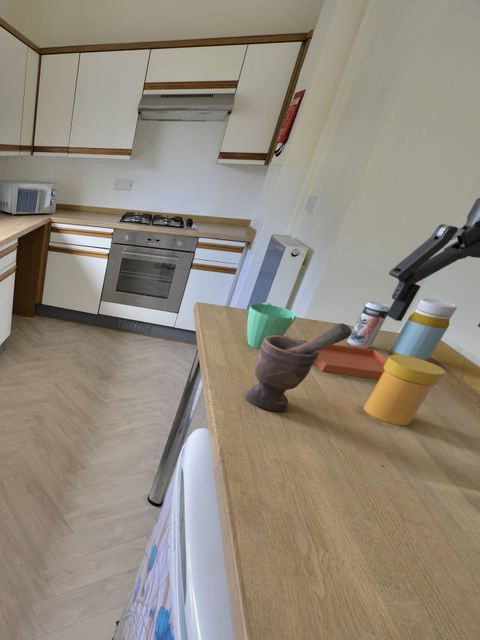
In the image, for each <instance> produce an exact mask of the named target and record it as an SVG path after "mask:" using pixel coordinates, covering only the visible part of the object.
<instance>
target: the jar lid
mask: <svg viewBox="0 0 480 640" xmlns="http://www.w3.org/2000/svg"><path fill="white" fill-rule="evenodd" d="M384 370H386V371H387V372H388V373H390V374H392V375H394V376H396V377H398V378H401V379H404V380H407V381H410V382H414V383H418V384H424V385H434V386H437V385H438V384H440V381H441V380H442V378H443V377H444V375H445V373H446V371H445V369H444V368H442V367H441V366H440V365H437V364H435V363H433V362H430V361H425V360H421V359H418V358H414V357H410V356H404V355H392V354H391V355H389V356H388V360H387V361H386V363H385V365H384Z"/></svg>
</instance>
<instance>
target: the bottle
mask: <svg viewBox="0 0 480 640" xmlns="http://www.w3.org/2000/svg"><path fill="white" fill-rule="evenodd" d="M457 309H458V306H457V305H456V304H454V303H451V302H447V301H444V300H439V299H433V298H421V299H420V301H419V303H418V305H417V306H416V308H415V310H414V311H413V312H412V313H411V314H410V315H409V316H408V318H407V319H406V321H405V323H404V325H403V326H402V329H401V330H400V332H399V334H398V335H397V337H396V339H395V341H394V343H393V344H392V346H391V348H390V353H391V355H404V356H410V357H414V358H418V359H421V360H425V361H427V362H429V359H430V358H431V356H432V355H433V353H434V351H435V350H436V348H437V346H438V345H439V343H440V342H441V340H442V338H443V337H444V335H445V333H446V332H447V330H448V328H449V327H450V320H451V318H452V316H453V315H454V314H455V312H456V310H457Z"/></svg>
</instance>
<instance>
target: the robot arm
mask: <svg viewBox="0 0 480 640" xmlns="http://www.w3.org/2000/svg"><path fill="white" fill-rule="evenodd" d="M455 239H456V240H457V241H455V242H453V243H452V244H450V245H448V244H449V243H450V242H451V241H452V240H455ZM442 249H443V250H442ZM440 250H442V251H441V252H440ZM468 257H471V258H476V259H480V197H479V198H476V200H475V201H474V203H473V205H472V207H471V208H470V210H469V212H468V214H467V216H466V223H465V224H464V225H463V226H462V227H460V228H459V227H457V226H454V225H450V224H443V223H442V224H439V225H437V227H436V228H435V230H434V231H433V233H432V234H431V236H430V237H429V238H428V239H426V240H425V241H424V242H423V243H422V244H420V246H418V247H417V248H415V249H414V250H413V251H412V252H411V253H410V254H409V255H408V256H406V257H405V258H403V260H401V261H399V263H398V264H396V265H395V266H394V267H393V268H392V269H391V270H389V272H388V275H389V276H391V277H393V278H395V279H397V280H398V283H397V285H396V287H395V289H394V291H393V293H392V294H391V299H392V300H393V302H392V303H391V306H390V307H389V308H390V310H389V311H388V313H387V317H389V318H391V319H393V320H395V321H396V322H402V320H403V319H404V317H405V315H406V314H407V312H408V310H409V308H410V307H411V304H412V303H413V301H414V299H415V297H416V295H417V294H418V292H419V290H420V288H421V285H419V284H417V283H419V282H421V281H423V280H424V279H426V278H428V277H430V276H432V275H434V274H435V273H437V272H439V271H441V270H443V269H444V268H446V267H448V266H450V265H451V264H453V263H455V262H457V261H459V260H463V259H467V258H468ZM477 327H478V328H480V322H479V323H478V324H477Z"/></svg>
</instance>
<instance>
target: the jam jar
mask: <svg viewBox="0 0 480 640" xmlns="http://www.w3.org/2000/svg"><path fill="white" fill-rule="evenodd" d="M434 386H435V385H424V384H418V383H414V382H410V381H407V380H404V379H401V378H398V377H396V376H394V375H392V374H390V373H388V372H387V371H386V370H384V372H383V373H382V375H381V377H380V379H379V380H378V379H377V382H376V384H375V386H374V388H373V389H372V391H371V393H370V394H369V397H368V398H367V400H366V402H365V403H364V405H363V410H364V412H366V413H367V414H368V415H370V416H372V417H373V418H375V419H376V420H379V421H382V422H385V423H388V424H391V425H395V426H409V425H410V424H411V423H412V421H413V419H414V418H415V416H416V415H417V413H418V411H419V409H421V407H422V405H423V404H424V402H425V400H426V398H427V397H428V395H429V394H430V393H431V391H432V389H433V388H434Z"/></svg>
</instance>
